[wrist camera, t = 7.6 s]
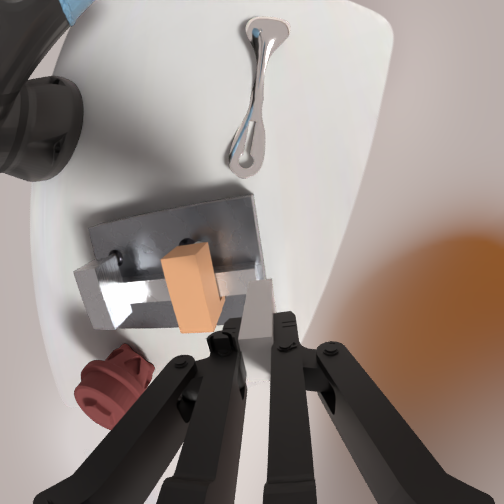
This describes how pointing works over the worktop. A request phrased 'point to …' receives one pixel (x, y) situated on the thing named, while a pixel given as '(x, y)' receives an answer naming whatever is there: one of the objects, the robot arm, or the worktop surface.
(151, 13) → the worktop surface
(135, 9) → the worktop surface
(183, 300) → the block
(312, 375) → the robot arm
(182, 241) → the hole plate
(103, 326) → the bar
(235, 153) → the grey spoon
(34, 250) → the worktop surface
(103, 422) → the mechanical component
